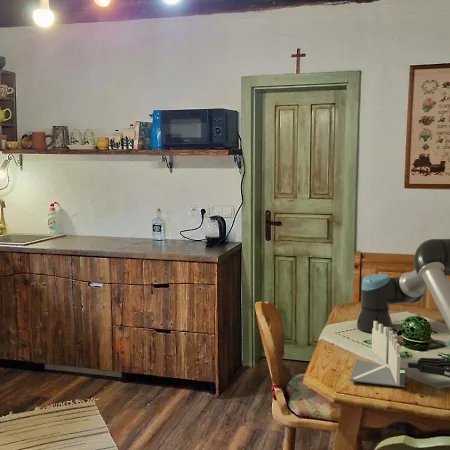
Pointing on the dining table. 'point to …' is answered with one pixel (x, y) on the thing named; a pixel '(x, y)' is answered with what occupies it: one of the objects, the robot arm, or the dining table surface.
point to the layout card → (374, 374)
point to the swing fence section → (394, 358)
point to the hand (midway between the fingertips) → (398, 362)
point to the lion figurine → (400, 340)
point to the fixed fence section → (381, 340)
